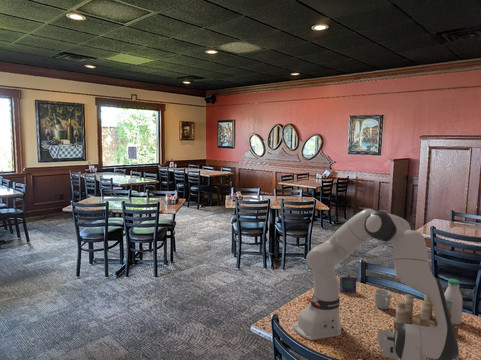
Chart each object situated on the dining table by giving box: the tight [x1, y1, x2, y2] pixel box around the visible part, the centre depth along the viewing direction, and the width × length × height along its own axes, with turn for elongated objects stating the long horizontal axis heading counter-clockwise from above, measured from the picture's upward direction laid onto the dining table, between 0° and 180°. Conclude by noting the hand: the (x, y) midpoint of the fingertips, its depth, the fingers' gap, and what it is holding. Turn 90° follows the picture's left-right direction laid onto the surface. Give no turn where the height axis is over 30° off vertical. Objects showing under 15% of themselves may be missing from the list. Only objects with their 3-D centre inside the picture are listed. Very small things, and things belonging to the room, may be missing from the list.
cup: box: [374, 288, 392, 310], centre depth 176 cm, size 11×8×8 cm
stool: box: [393, 294, 460, 336], centre depth 154 cm, size 22×16×16 cm
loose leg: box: [394, 300, 406, 331], centre depth 148 cm, size 4×4×16 cm
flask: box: [339, 272, 357, 293], centre depth 197 cm, size 9×3×11 cm, turn 84°
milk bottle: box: [444, 278, 463, 326], centre depth 163 cm, size 8×8×20 cm
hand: (403, 331), depth 138 cm, fingers open, 8 cm apart
